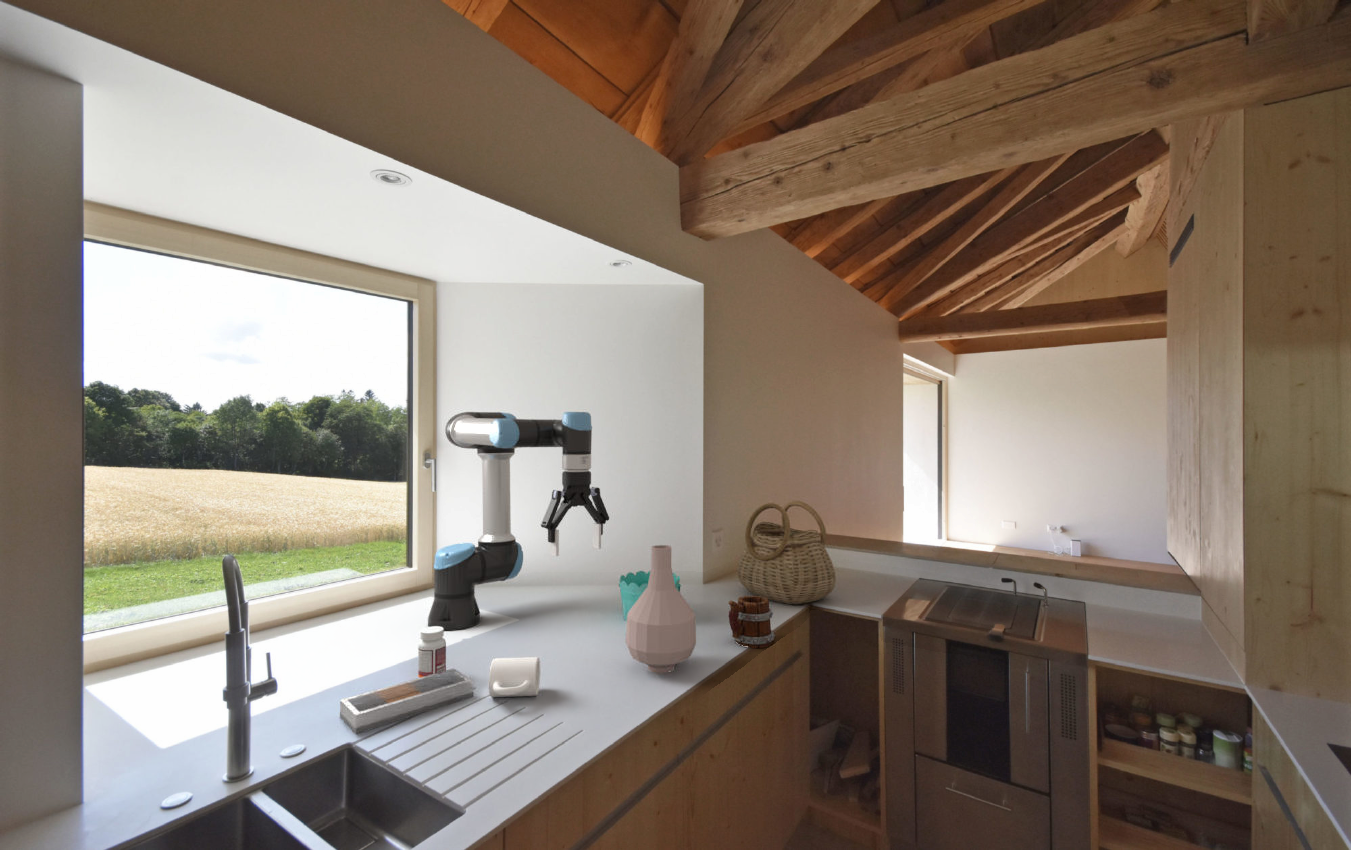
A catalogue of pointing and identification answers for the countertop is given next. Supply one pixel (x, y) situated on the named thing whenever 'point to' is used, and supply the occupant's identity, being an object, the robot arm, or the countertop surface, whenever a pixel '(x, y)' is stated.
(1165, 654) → the countertop surface
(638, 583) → the bucket
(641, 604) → the vase
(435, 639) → the pill bottle
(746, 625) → the mug
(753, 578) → the basket
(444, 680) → the tray
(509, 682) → the mug
